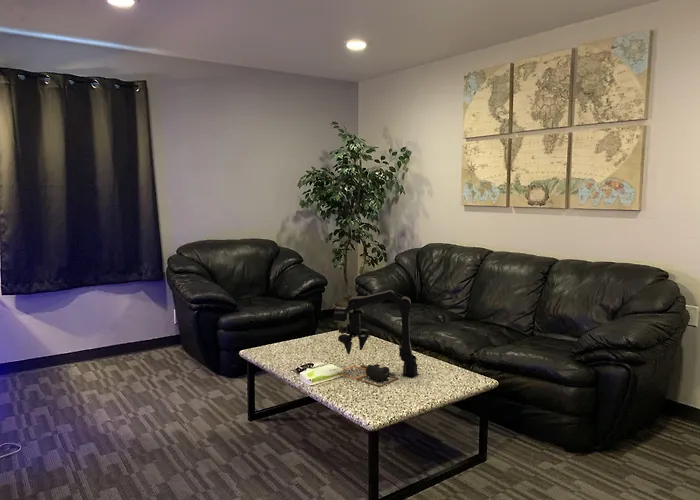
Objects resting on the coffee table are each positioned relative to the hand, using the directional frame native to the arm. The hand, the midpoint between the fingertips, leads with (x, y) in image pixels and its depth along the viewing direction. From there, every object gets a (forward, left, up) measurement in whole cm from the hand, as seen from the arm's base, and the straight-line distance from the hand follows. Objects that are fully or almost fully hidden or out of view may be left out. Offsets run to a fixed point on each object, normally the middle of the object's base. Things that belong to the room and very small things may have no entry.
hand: (354, 352), depth 265 cm
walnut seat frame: (-15, 0, -11) cm, 19 cm away
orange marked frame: (0, 0, -11) cm, 11 cm away
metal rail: (-8, -9, -11) cm, 16 cm away
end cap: (-15, 0, -11) cm, 19 cm away
